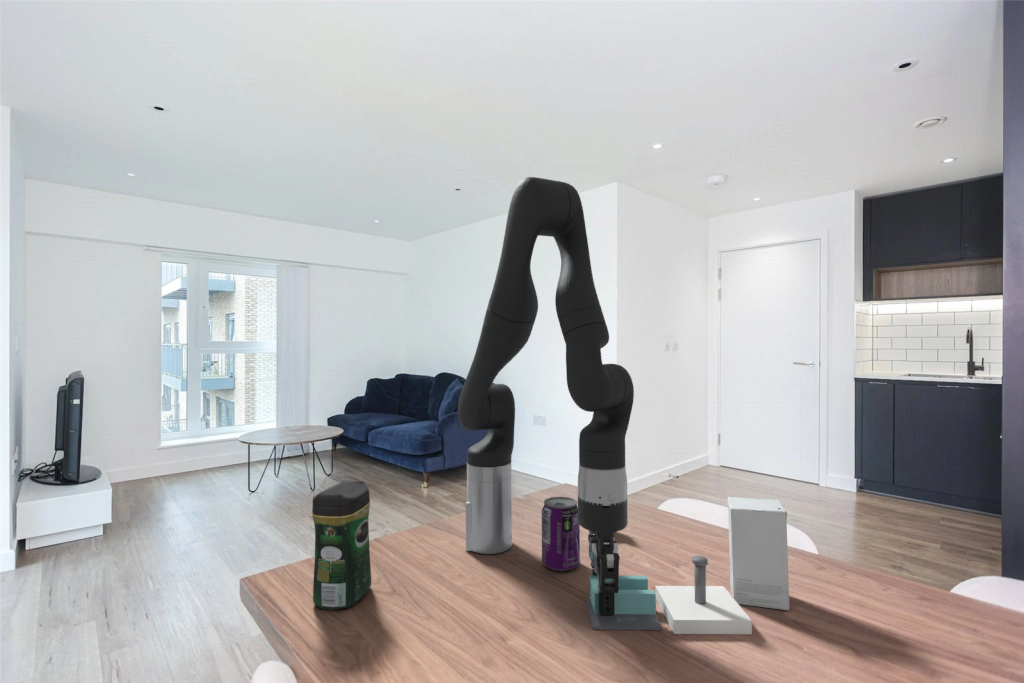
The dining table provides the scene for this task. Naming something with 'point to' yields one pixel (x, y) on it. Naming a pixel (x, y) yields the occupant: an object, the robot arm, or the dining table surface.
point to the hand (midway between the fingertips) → (603, 603)
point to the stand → (702, 607)
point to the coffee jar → (341, 545)
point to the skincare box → (758, 552)
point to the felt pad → (622, 621)
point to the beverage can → (560, 534)
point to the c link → (626, 595)
